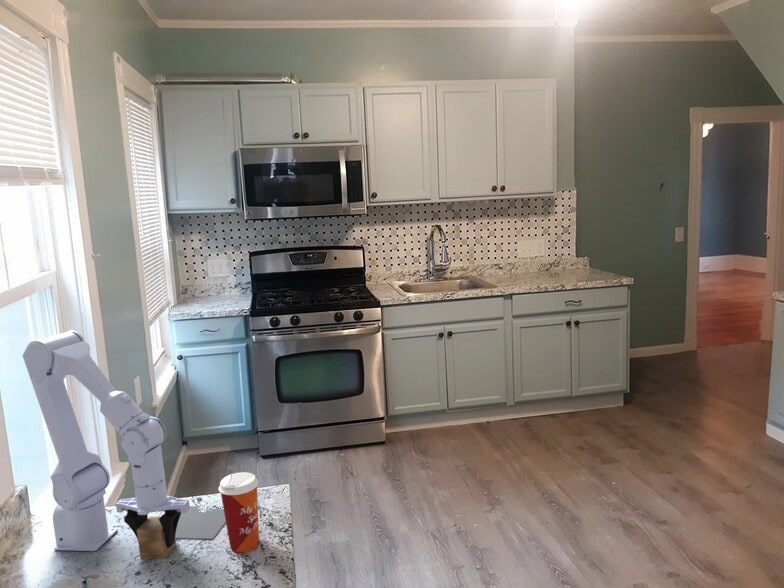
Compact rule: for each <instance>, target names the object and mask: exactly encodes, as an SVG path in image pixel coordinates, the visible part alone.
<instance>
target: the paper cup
mask: <svg viewBox="0 0 784 588" xmlns="http://www.w3.org/2000/svg"><path fill="white" fill-rule="evenodd" d="M258 486H259V480H258V479H257V477H256V475H255V474H253V473H251V472H244V471H243V472H242V471H241V472H234V473H231V474H228V475H226V476H224V477H223V478H222V479H221V480H220V483H219V486H218V492H219V493H220V497H221V502H222V507H223V508H224V514H225V520H226V523H225V525H226V529H227V530H226V531H227V536H228V541H229V545H230V547H229V548H230V549H231V551H232V552H235V553H246V552H249V551H252V550H254V549H256V547H258V546H259V541H260V539H259V538H260V537H259V536H260V535H259V534H260V533H259V532H260V531H259V530H260V529H259V528H260V527H259V510H258V509H259V506H258V501H259V500H258Z"/></svg>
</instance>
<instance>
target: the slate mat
mask: <svg viewBox="0 0 784 588" xmlns="http://www.w3.org/2000/svg"><path fill="white" fill-rule="evenodd" d="M198 506H199V505H198ZM198 506H193V505H190V509H189V510H188V511H187V512H186V513H185V514H182V513H181V515H180V518H179V521H178V524H177V529H176V535H175V538H176V540H177V539H178V540H179V539H180V540H186V539H187V540H214V539H215V537H216V536H217V535H218V534H219V532H220V531H221V529H222V528H224V525H226V520H225V514H224V509H222V508H223V506H214V507H215V508H216V509H212V508H209V509H210V510H209V509H207V511H206V512H204V513H203V512H201V511H202V510H203V509H202V510H201V509H198V508H200V506H201V505H200V506H199V507H198ZM219 507H220V508H219ZM221 507H222V508H221ZM220 509H221V510H220ZM200 510H201V511H200ZM208 510H209V511H208ZM211 510H212V511H211ZM199 511H200V512H199ZM204 511H205V510H204Z"/></svg>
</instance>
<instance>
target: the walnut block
mask: <svg viewBox="0 0 784 588" xmlns="http://www.w3.org/2000/svg"><path fill="white" fill-rule="evenodd" d="M160 517H161V516H148V519H147V520H146V521H145V522H144V523H143V524H142V525H141V526H140V527H139V528H138V529H137V537H138V539H137V543H138V551H139V557H140V559H165V558H166V557H167V556H168V554H169V553H170V552H171V551H172V550H173V549H174V548H175V547H176V546H177V541H176V540H177V539H176V538H175V543H174V544H173V545H172V546H171V547H170V548H168V547H167V546H166V543H165V535H164V531H163V528H162V525H161V523H160V521H159V518H160ZM137 537H136V538H137Z"/></svg>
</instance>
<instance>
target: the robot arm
mask: <svg viewBox="0 0 784 588" xmlns="http://www.w3.org/2000/svg"><path fill="white" fill-rule="evenodd" d="M90 351H91V347H90V344H89V343H88V342H87V341H85V339H84V337H83V335H82V334H81V333H80V332H78V331H77V330H68V331H67V330H66V332H63V333H59V334H56V335H52V336H49V337H46V338H42V339H36V340H32V341H30V342H29V343H28V344H27V346H26V348H25V350H24V352H23V354H22V358H23V361H24V365H25V367H26V369H27V373H28V375H29V378H30V381H31V384H32V388H33V390H34V393H35V396H36V400H37V403H38V404H39V407H40V408H39V409H40V410H41V411H40V412H41V413H42V416H43V419H44V422H45V425H46V428H47V431H48V433H49V437H50V439H51V442H52V446H53V448H54V451H55V454H56V456H57V459H58V463H57V465H56V466H55V468H54V470H53V472H52V474H51V475H50V480H51V483H52V497H53V499H54V501H55V503H56V504H57V505H56V506H55V508H54V510H53V513H52V524H53V530H54V531H53V532H54V537H55V543H56V545H55V546H54V547H53V548H54V551H77V552H96V551H98V550H99V549H100V548H101V547H102V546H103V545H104V544H105V543H106V542H108V540H109V539H111V537H113V536H114V535H115V534H116V533H117V532H118V531H119V530H118V528H117V527H115V528H114V527H111V528H110V527H108V520H107V519H108V518H107V512H106V506H105V499H104V496H105V494H106V493H107V491H106V489H107V487H108V486H109V484H110V481H111V477H110V473H109V470H108V469H107V467H106V466H105V465H104V463H103V461H102V460H101V457H100V456H101V455H98V454H96V453H93V452H90V451H88V449H87V446H86V443H85V441H84V437H83V435H82V434H83V433H82V432H81V431H82V430H81V429H80V425H79V422H78V420H77V415H76V414H75V413H76V412H75V411H74V407H73V404H72V402H71V399H70V396H69V393H68V390H67V388H66V384H65V381H64V380H65V378H66V377H67V376H73V377H74V378H75V379H76V380H77V381H78V382H79V383H81V385H82V386H84V388H85V389H87V390H88V391H89V392H90V394H92V395H93V397H95V398H96V399H97V400H98V401H99V402H100V407H99V412H100V413H101V414H102V416H103V417H105V419H106V421H108V422H109V424H111V426H112V427H113V428H114V429H115V430H116V432H117V433H119V435H120V436H121V437H122V440H121V441H120V445H121V447H122V450H123V451H124V452H125V454H126V455H127V459H128V462H129V464H130V466H131V471H132V479H133V485H134V494H135V495H134V496H135V497H130V498H120V500H119V499H118V501H117V502H116V503H115V509H116V513H123V512H126V515H125V516H124V518H123V521H124V523H125V524H126V525H127V526H128V527H129V528H130V529H131V531H132V532H133V533H134V536H135V537H136V539H137V540H138V537H137V529H138V528H139V527H140V526H141V525H142V524H143V523H144V522H145V521H146V520H147V519H148V518H149V516H148V515H149V513H156V512H157V513H158V512H164V513H163V514H162V515H161V516H159V517H160V518H159V521H160V523H161V525H162V528H163V531H164V535H165V543H166V546H167V547H168V548H170V547H171V546H172V545H173V544H174V543H175V535H176V529H177V524H178V521H179V518H180V515H181V513H182V514H185V513H186V512H187V511H188V510H189V509H190V506H191V505H190V500H189V499H183V498H178V497H174V496H171V495H168V493H167V484H166V482H167V481H166V475H165V467H164V459H163V452H162V451H163V450H162V445H161V444H162V443H163V442H164V441H165V440H166V438H167V430H166V427H165V425H164V424H163V423H162V420H161V419H160V418H159V417H156V416H152V415H150V414H149V413H145V412H144V411H143V410H142V409H141V408H140V407H139V405H138V404H137V403H136V402H135V401H134V400H133V398H132V397H131V396H130V394H128V393H127V392H126V391H122V390H116V389H115V388H114V385H112V383H111V382H110V381H109V379H108V378H107V376H106V375H105V374H104V372H103V371H102V370H101V369H100V367H99V366H98V364H97V363H96V362H95V361H94V359H93V358H92V356H91V355H90Z"/></svg>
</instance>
